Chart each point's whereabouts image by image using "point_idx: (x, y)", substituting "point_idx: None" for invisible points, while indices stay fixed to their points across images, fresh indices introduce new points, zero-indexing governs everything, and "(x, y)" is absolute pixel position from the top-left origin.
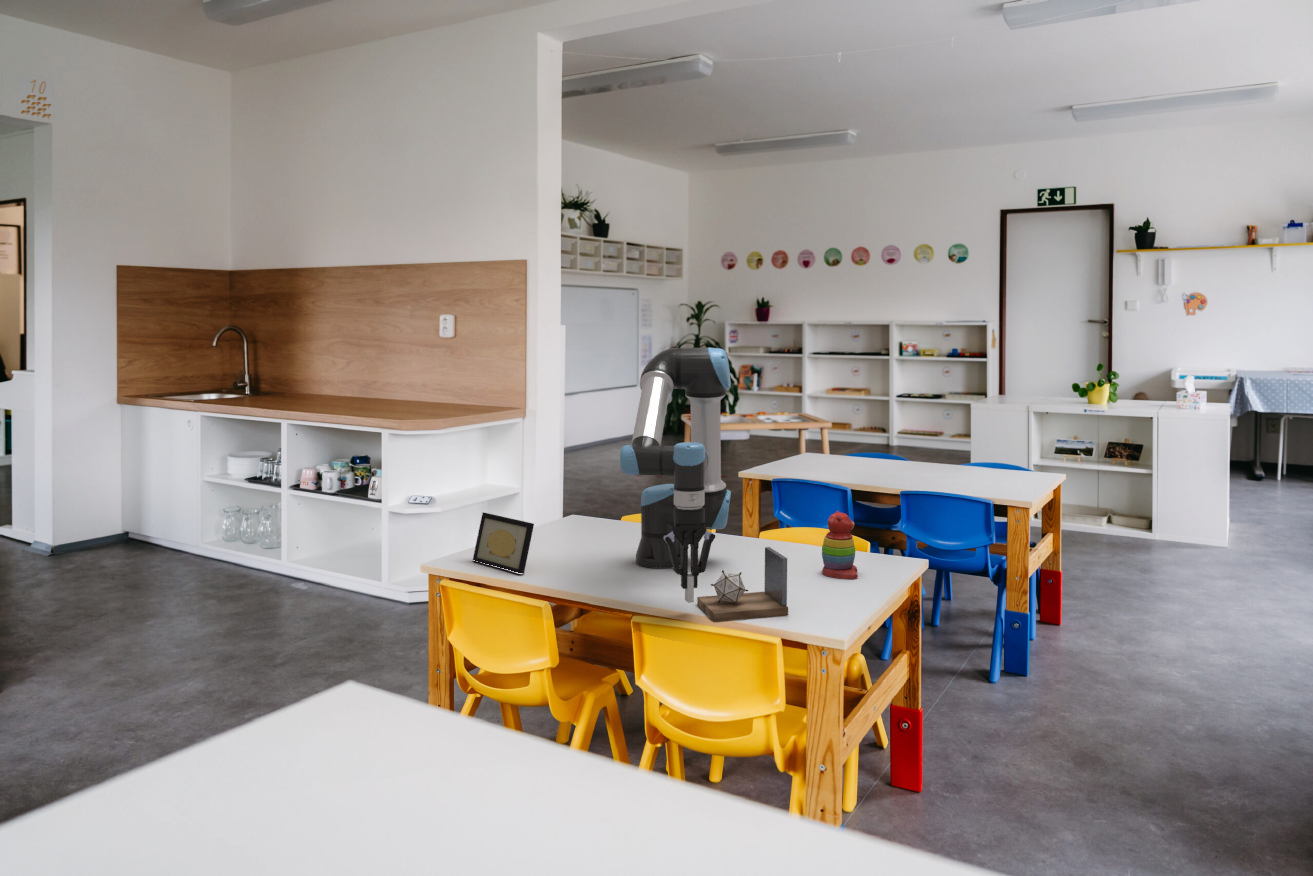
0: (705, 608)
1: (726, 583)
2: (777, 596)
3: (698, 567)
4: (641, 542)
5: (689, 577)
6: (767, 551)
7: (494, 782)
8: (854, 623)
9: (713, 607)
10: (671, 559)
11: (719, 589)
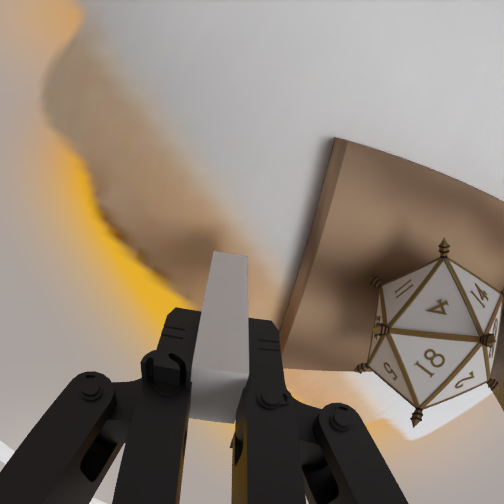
0: (306, 268)
1: (403, 395)
2: (499, 343)
3: (305, 450)
4: None
5: (201, 414)
6: None
7: (5, 454)
8: (480, 399)
9: (318, 315)
10: (21, 476)
11: (378, 355)
